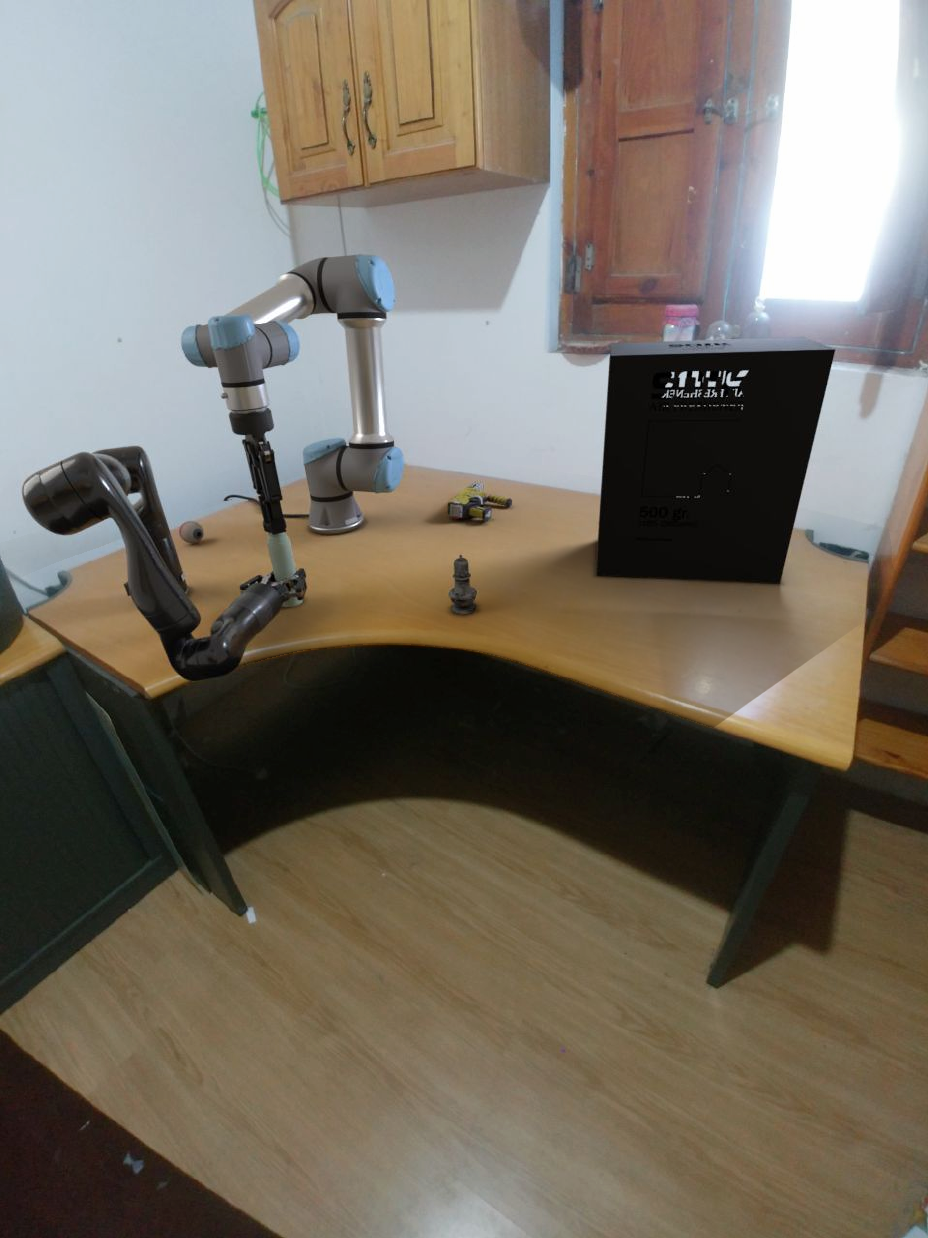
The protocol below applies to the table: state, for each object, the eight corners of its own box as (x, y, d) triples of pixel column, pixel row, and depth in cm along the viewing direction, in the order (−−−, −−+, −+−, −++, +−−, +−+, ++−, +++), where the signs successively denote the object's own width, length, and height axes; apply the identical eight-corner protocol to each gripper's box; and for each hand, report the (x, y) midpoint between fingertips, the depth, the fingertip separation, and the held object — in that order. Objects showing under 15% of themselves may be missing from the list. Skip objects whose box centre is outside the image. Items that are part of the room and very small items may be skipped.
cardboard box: (759, 545, 143) (803, 336, 120) (780, 583, 126) (835, 349, 103) (597, 539, 151) (610, 343, 128) (596, 575, 134) (610, 355, 111)
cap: (261, 528, 122) (259, 519, 121) (281, 523, 125) (280, 514, 124) (268, 534, 119) (266, 525, 118) (290, 528, 121) (288, 520, 120)
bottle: (306, 598, 132) (290, 519, 123) (296, 608, 128) (278, 527, 119) (287, 596, 133) (270, 518, 124) (276, 606, 129) (258, 526, 120)
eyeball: (192, 548, 159) (186, 527, 156) (178, 544, 162) (171, 523, 159) (211, 540, 164) (205, 519, 161) (197, 537, 167) (190, 516, 164)
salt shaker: (475, 615, 121) (472, 561, 115) (446, 614, 122) (442, 560, 116) (480, 601, 126) (478, 548, 120) (452, 600, 127) (449, 547, 121)
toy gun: (520, 486, 181) (473, 479, 185) (498, 510, 161) (445, 501, 165) (519, 501, 183) (472, 494, 187) (496, 526, 163) (445, 518, 167)
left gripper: (284, 594, 112) (319, 556, 126) (214, 591, 115) (257, 554, 129) (291, 629, 116) (325, 588, 130) (224, 625, 118) (265, 585, 133)
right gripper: (217, 405, 115) (246, 521, 127) (240, 419, 102) (269, 547, 114) (256, 400, 118) (281, 513, 130) (283, 413, 105) (307, 537, 117)
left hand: (291, 571), depth 130 cm, fingers closed on bottle, 4 cm apart
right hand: (275, 528), depth 122 cm, fingers closed on cap, 4 cm apart
